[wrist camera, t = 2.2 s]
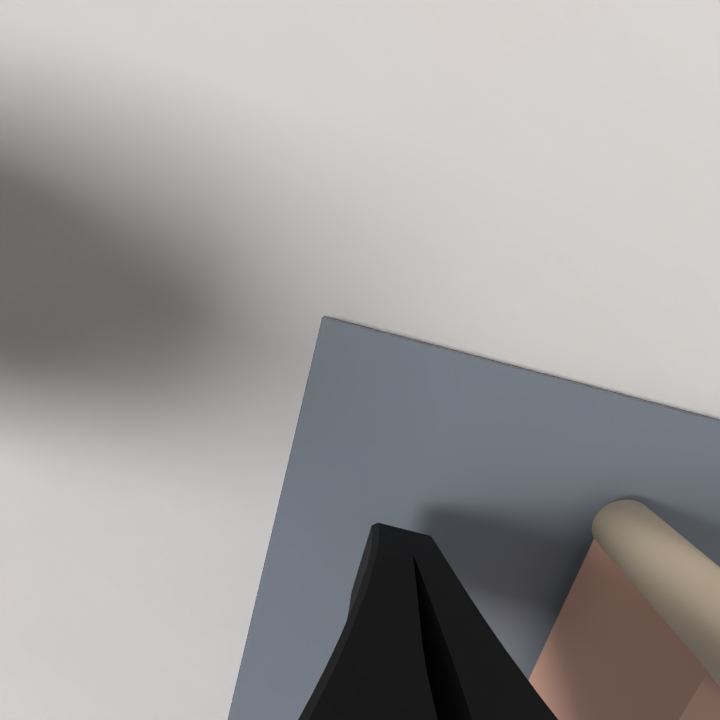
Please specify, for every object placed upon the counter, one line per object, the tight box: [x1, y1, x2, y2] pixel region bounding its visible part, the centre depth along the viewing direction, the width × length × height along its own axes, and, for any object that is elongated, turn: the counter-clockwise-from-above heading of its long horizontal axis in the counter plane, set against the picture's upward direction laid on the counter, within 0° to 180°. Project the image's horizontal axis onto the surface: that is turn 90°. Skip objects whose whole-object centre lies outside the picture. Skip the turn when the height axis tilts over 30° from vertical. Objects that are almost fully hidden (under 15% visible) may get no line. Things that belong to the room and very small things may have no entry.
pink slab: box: [528, 499, 720, 720], centre depth 8 cm, size 8×1×3 cm, turn 166°
